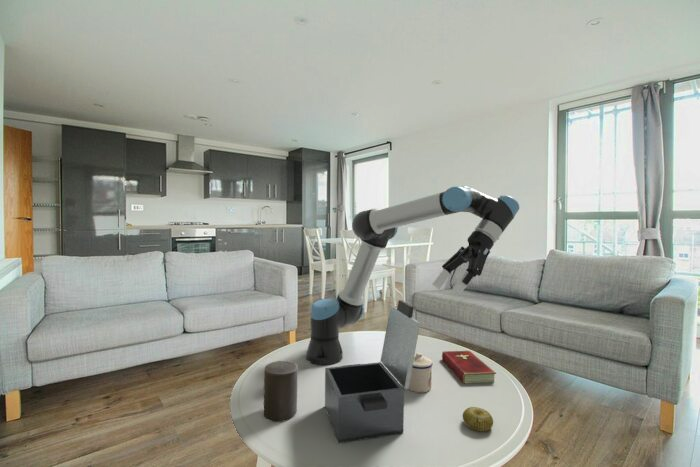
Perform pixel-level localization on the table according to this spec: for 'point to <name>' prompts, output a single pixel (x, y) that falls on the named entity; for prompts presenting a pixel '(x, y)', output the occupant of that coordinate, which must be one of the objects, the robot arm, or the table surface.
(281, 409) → the pillar candle
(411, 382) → the teacup with lid
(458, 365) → the hardcover book
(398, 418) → the grey storage box
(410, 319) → the lid
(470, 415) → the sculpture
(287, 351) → the table surface
